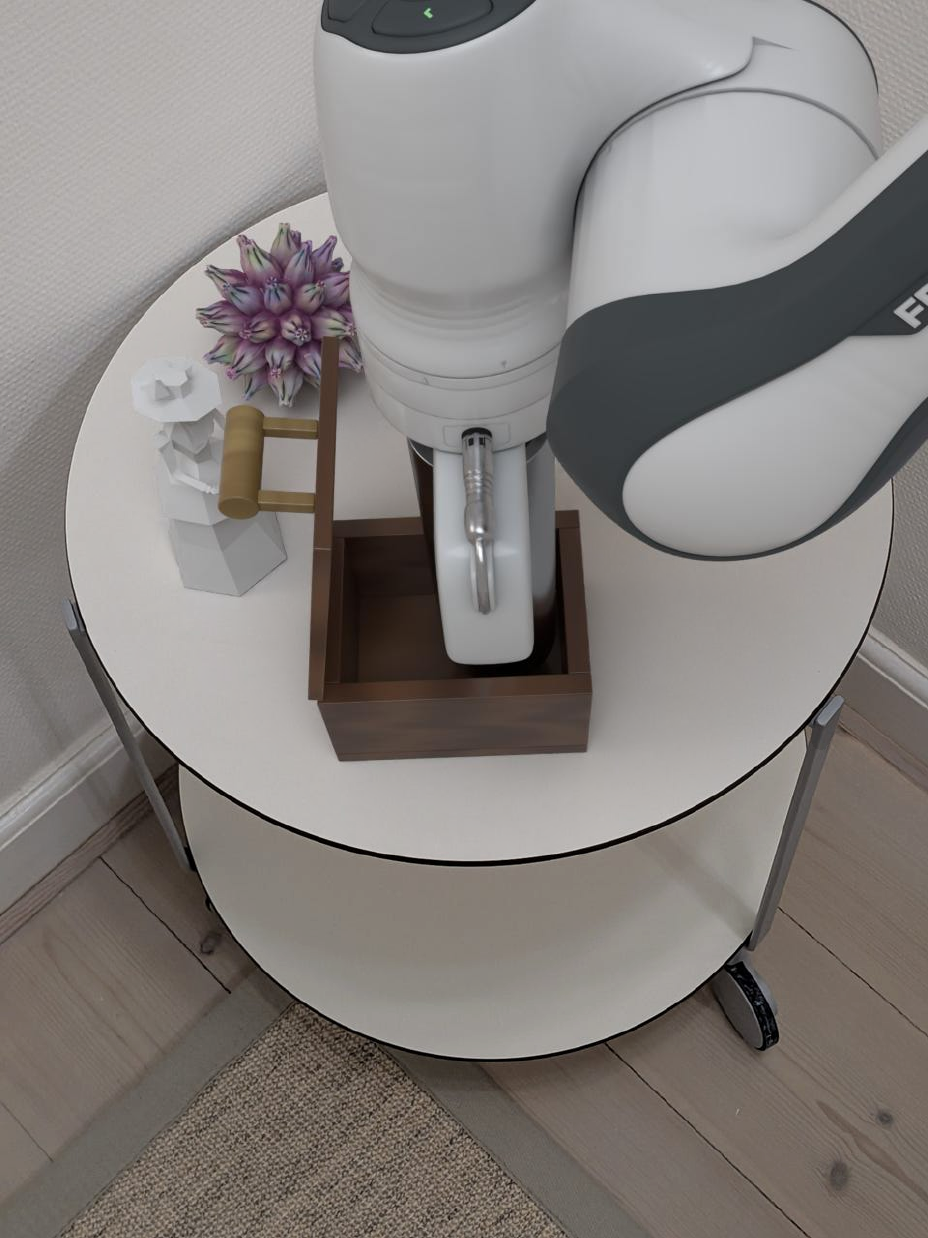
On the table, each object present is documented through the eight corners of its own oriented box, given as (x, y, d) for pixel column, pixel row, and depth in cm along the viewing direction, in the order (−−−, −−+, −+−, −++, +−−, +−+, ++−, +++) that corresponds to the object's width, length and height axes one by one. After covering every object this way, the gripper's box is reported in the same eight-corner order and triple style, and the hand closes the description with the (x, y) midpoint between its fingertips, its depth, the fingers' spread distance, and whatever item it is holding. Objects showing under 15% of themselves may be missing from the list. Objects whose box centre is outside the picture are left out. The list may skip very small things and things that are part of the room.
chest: (574, 581, 77) (578, 508, 70) (586, 752, 72) (592, 693, 64) (343, 591, 77) (323, 520, 70) (338, 762, 72) (316, 704, 65)
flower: (391, 336, 89) (376, 449, 81) (224, 331, 89) (194, 444, 81) (383, 190, 80) (366, 301, 72) (198, 185, 80) (162, 296, 73)
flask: (578, 624, 70) (585, 402, 52) (506, 704, 68) (487, 502, 50) (492, 563, 72) (470, 331, 55) (419, 639, 70) (372, 424, 53)
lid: (339, 335, 57) (228, 328, 56) (332, 550, 51) (209, 544, 51) (329, 516, 70) (239, 511, 69) (323, 701, 64) (225, 698, 64)
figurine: (274, 601, 77) (208, 426, 61) (151, 584, 78) (55, 407, 62) (301, 507, 80) (245, 318, 65) (183, 492, 82) (98, 302, 66)
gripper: (570, 563, 43) (566, 720, 55) (541, 150, 53) (543, 361, 65) (390, 572, 43) (426, 727, 56) (394, 159, 53) (423, 368, 65)
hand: (489, 527), depth 60 cm, fingers closed on flask, 6 cm apart
